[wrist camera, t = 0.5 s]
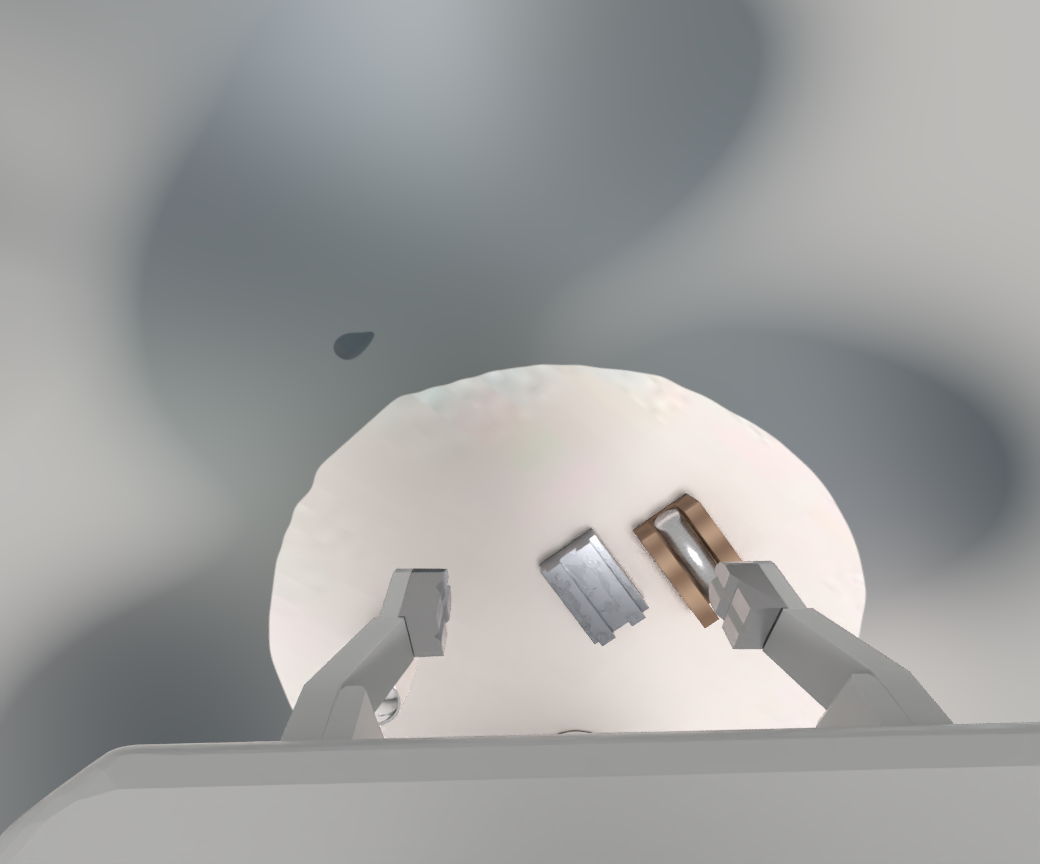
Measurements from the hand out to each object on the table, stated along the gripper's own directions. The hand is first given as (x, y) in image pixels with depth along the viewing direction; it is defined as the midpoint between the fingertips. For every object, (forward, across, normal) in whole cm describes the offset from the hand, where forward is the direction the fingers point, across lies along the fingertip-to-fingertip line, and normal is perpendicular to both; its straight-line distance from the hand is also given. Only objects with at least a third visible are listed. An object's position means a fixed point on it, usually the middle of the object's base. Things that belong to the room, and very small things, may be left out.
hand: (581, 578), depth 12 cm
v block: (+34, +10, -43) cm, 56 cm away
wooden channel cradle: (+36, +25, -38) cm, 58 cm away
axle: (+35, +25, -38) cm, 57 cm away
